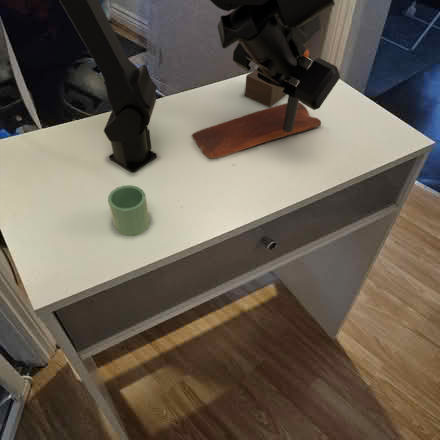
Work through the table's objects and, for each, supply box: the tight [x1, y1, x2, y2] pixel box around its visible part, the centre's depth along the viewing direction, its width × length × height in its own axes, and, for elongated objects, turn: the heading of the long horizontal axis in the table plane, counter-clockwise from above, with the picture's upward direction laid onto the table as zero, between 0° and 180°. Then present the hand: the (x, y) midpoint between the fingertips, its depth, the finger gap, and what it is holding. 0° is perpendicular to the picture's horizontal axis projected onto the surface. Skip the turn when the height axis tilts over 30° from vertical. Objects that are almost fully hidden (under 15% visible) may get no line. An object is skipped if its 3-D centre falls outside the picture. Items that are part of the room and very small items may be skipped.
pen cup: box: [107, 184, 150, 237], centre depth 62 cm, size 6×6×6 cm
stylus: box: [283, 48, 310, 132], centre depth 70 cm, size 2×2×14 cm
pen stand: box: [244, 69, 288, 108], centre depth 86 cm, size 7×7×4 cm
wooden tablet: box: [191, 101, 322, 159], centre depth 79 cm, size 27×10×2 cm, turn 118°
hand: (300, 90), depth 70 cm, fingers closed on stylus, 2 cm apart
